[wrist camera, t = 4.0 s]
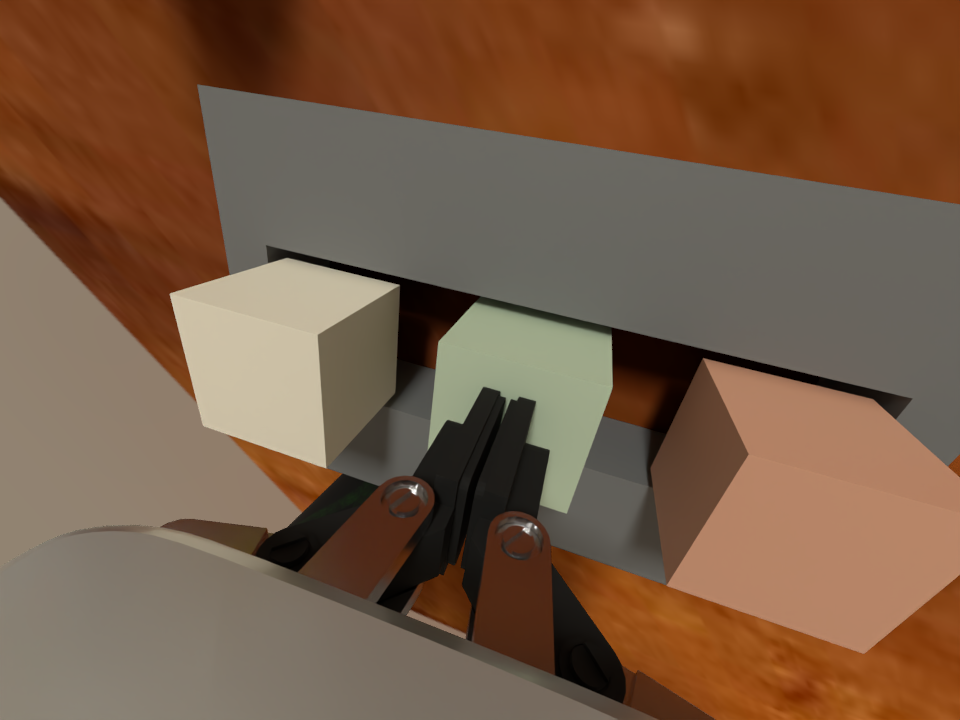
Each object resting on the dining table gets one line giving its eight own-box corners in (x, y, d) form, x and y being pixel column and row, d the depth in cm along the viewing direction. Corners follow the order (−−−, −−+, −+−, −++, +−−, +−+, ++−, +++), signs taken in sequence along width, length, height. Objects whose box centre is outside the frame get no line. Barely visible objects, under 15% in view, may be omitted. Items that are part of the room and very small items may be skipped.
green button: (611, 321, 15) (612, 387, 11) (577, 425, 17) (566, 513, 13) (484, 292, 16) (438, 341, 11) (468, 394, 18) (425, 467, 14)
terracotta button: (873, 399, 12) (1016, 528, 8) (789, 509, 15) (864, 654, 10) (702, 357, 13) (748, 454, 9) (650, 468, 16) (666, 585, 11)
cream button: (400, 285, 15) (317, 334, 11) (395, 392, 18) (326, 468, 13) (286, 257, 16) (169, 293, 12) (297, 364, 18) (203, 426, 14)
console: (1010, 215, 12) (1169, 237, 9) (759, 546, 20) (790, 628, 16) (281, 99, 17) (197, 84, 13) (307, 404, 25) (258, 444, 21)
